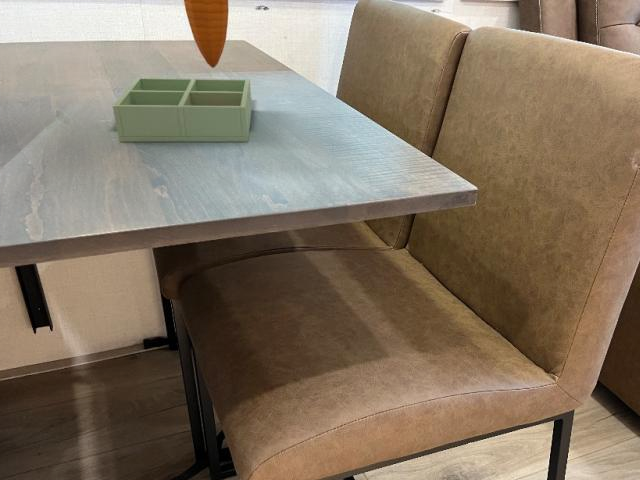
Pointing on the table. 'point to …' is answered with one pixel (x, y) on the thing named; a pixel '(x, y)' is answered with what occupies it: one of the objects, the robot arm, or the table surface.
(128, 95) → the grid
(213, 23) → the carrot
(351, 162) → the table surface
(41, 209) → the table surface
